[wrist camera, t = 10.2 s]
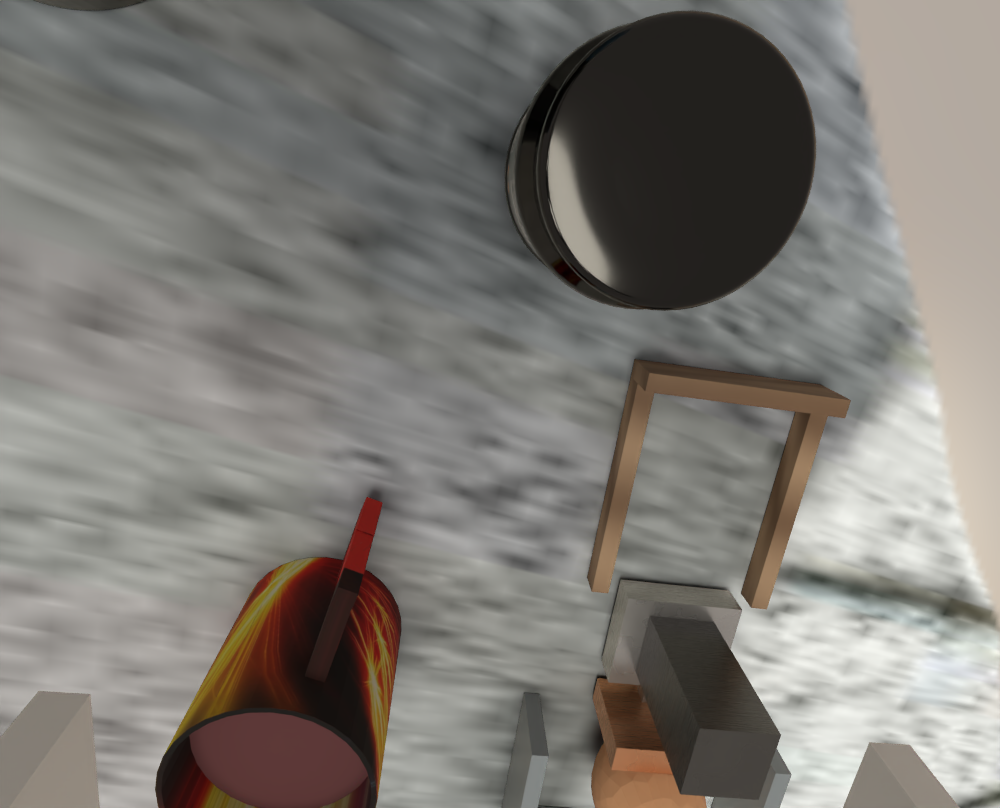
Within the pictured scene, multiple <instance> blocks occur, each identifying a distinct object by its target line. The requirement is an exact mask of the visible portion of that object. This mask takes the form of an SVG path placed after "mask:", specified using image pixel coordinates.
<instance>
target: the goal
mask: <svg viewBox="0 0 1000 808" xmlns="http://www.w3.org/2000/svg"><path fill="white" fill-rule="evenodd" d="M548 757H549V755H548V749H547V742H546V736H545V729H544V722H543V716H542V709H541V703H540V696H539V694H533V693H524V696H523V701H522V706H521V711H520V716H519V722H518V727H517V732H516V737H515V742H514V747H513V752H512V757H511V762H510V767H509V772H508V778H507V783H506V788H505V793H504V798H503V803H502V808H561V807H546V806H538V803H539V799H540V794H541V789H542V785H543V780H544V776H545V771H546V767H547V762H548ZM790 777H791V773H790V771H789V770H788V768H787V766H786V764H785V762H784V761H783V759H782V757H781V755H780V754H779V752H778V750H777V748H776V751H775V754H774V757H773V759H772V762H771V765H770V768H769V771H768V774H767V777H766V780H765V783H764V785H763V788H762V791H761V794H760V797H759V800H752V799H738V798H724V797H714V800H713V803H712V806H711V808H780V805H781V802H782V800H783V797H784V794H785V791H786V788H787V786H788V783H789V780H790Z"/></svg>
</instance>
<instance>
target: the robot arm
mask: <svg viewBox="0 0 1000 808" xmlns="http://www.w3.org/2000/svg"><path fill="white" fill-rule="evenodd" d="M34 1H37V2H40V3H44V4H47V5H51V6H56V7H60V8H66V9H74V10H107V9H115V8H120V7H125V6H129V5H132V4H135V3H139V2H141V1H144V0H34ZM0 808H100V807H99V795H98V782H97V770H96V758H95V745H94V733H93V721H92V708H91V696H90V694H79V693H62V692H46V691H38V693H37V694H36V695H35V696H34V697H33V699H32V700H31V701H30V702H29V703H28V705H27V706H26V707H25V708H24V710H23V711H22V712H21V713H20V714H19V716H18V717H17V718H16V719H15V720H14V722H13V723H12V724H11V725H10V727H9V728H8V729H7V730H6V731H5V733H4V734H3V735H2V736H1V737H0ZM843 808H959V806H958V805H957V804H956V803H955V801H954V800H953V799H952V798H951V796H950V795H949V794H948V792H947V791H946V790H945V789H944V787H943V786H942V785H941V784H940V782H939V781H938V780H937V779H936V777H935V776H934V775H933V774H932V772H931V771H930V770H929V769H928V767H927V766H926V765H925V764H924V762H923V761H922V760H921V759H920V757H919V756H918V755H917V754H916V752H915V751H914V750H913V748H912V747H911V746H910V745H903V744H887V743H871V742H869V745H868V747H867V750H866V752H865V755H864V757H863V760H862V762H861V765H860V767H859V770H858V772H857V775H856V777H855V779H854V782H853V784H852V787H851V789H850V792H849V794H848V797H847V799H846V802H845V804H844V807H843Z"/></svg>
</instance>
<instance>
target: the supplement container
mask: <svg viewBox="0 0 1000 808" xmlns="http://www.w3.org/2000/svg"><path fill="white" fill-rule="evenodd" d="M815 161H816V136H815V126H814V121H813V116H812V111H811V107H810V104H809V101H808V98H807V95H806V92H805V90H804V88H803V85H802V83H801V81H800V79H799V78H798V76H797V74H796V72H795V70H794V69H793V67H792V66H791V65H790V63H789V62H788V60H787V59H786V58H785V56H784V55H783V54H782V53H781V52H780V51H779V50H778V49H777V48H776V47H775V46H774V45H773V44H772V43H771V42H770V41H769V40H767V39H766V38H765V37H764V36H763V35H761V34H760V33H758V32H757V31H755V30H754V29H752V28H751V27H749V26H747V25H745V24H743V23H741V22H739V21H737V20H734V19H731V18H729V17H726V16H723V15H719V14H714V13H710V12H702V11H674V12H667V13H661V14H657V15H653V16H649V17H646V18H643V19H641V20H638V21H636V22H633V23H629V24H625V25H622V26H618V27H615V28H613V29H610V30H608V31H605V32H603V33H601V34H599V35H597V36H595V37H594V38H592V39H590V40H588V41H587V42H585V43H584V44H582V45H581V46H579V47H578V48H576V49H575V50H574V51H573V52H572V53H570V54H569V55H568V56H567V57H566V58H565V59H564V60H563V61H562V62H561V63H560V64H559V65H558V66H557V67H556V68H555V69H554V70H553V71H552V72H551V74H550V75H549V76H548V78H547V79H546V80H545V81H544V83H543V84H542V86H541V87H540V89H539V90H538V92H537V94H536V95H535V97H534V99H533V101H532V102H531V104H530V105H529V106H528V108H527V109H526V111H525V112H524V114H523V115H522V117H521V119H520V120H519V123H518V125H517V127H516V129H515V131H514V133H513V136H512V139H511V141H510V145H509V149H508V153H507V158H506V164H505V193H506V200H507V205H508V209H509V213H510V215H511V218H512V221H513V224H514V226H515V228H516V230H517V232H518V234H519V236H520V237H521V239H522V241H523V242H524V244H525V245H526V246H527V248H528V249H529V250H530V251H531V252H532V254H533V255H534V256H535V257H536V258H537V259H538V260H539V261H541V262H542V263H543V264H544V265H545V266H546V267H548V268H549V269H550V270H551V271H552V273H553V274H554V275H555V276H557V277H558V278H559V279H560V280H561V281H562V282H564V283H565V284H566V285H567V286H569V287H570V288H572V289H573V290H575V291H576V292H578V293H580V294H582V295H584V296H585V297H587V298H590V299H592V300H595V301H597V302H600V303H603V304H606V305H610V306H613V307H619V308H625V309H650V310H664V311H666V310H681V309H687V308H693V307H697V306H701V305H705V304H708V303H710V302H713V301H716V300H718V299H721V298H723V297H725V296H727V295H729V294H731V293H733V292H734V291H736V290H738V289H739V288H741V287H742V286H744V285H745V284H747V283H748V282H749V281H751V280H752V279H753V278H755V277H756V276H757V275H758V274H759V273H760V272H761V271H763V270H764V269H765V268H766V267H767V266H768V265H769V264H770V263H771V261H772V260H773V259H774V258H775V257H776V256H777V255H778V253H779V252H780V251H781V250H782V248H783V247H784V246H785V244H786V243H787V241H788V240H789V238H790V237H791V235H792V233H793V232H794V230H795V228H796V226H797V224H798V222H799V220H800V218H801V216H802V214H803V211H804V209H805V206H806V204H807V201H808V197H809V194H810V190H811V187H812V182H813V177H814V171H815Z"/></svg>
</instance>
